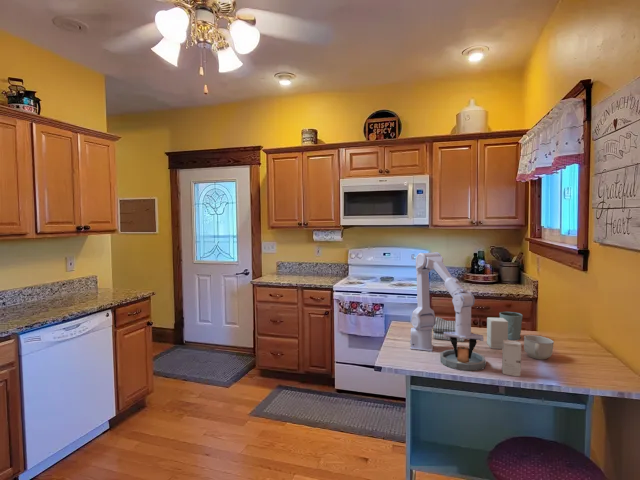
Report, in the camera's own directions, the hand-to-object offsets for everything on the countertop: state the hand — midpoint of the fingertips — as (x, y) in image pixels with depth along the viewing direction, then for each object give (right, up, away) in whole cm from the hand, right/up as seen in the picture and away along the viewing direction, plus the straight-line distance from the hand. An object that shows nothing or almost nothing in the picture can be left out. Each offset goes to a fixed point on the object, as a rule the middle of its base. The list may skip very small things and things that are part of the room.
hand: (462, 357), depth 146 cm
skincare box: (+16, -4, -7) cm, 18 cm away
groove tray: (+1, -4, +5) cm, 6 cm away
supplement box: (+25, -3, +24) cm, 35 cm away
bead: (0, -1, 0) cm, 1 cm away
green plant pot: (+38, -2, +37) cm, 53 cm away
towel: (+9, -3, +41) cm, 42 cm away
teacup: (+35, -4, +9) cm, 36 cm away
